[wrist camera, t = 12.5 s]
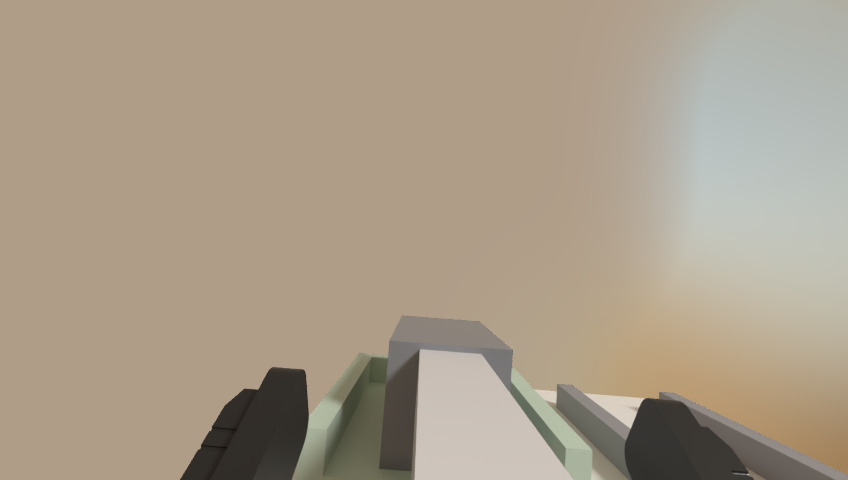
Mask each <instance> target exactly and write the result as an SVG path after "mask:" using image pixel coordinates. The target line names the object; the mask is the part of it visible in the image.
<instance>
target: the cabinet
mask: <svg viewBox="0 0 848 480" xmlns="http://www.w3.org/2000/svg"><path fill="white" fill-rule="evenodd" d="M387 366H388V355H376V354H364V353H359V355H358V356H357V357H356V358H355V360H354V361H353V362H352V364H351V365H350V366H349V367H348V368H347V370H346V371H345V372H344V373H343V375H342V376H341V377H340V378H339V380H338V381H337V382H336V384H335V385H334V386H333V387H332V388H331V390H330V391H329V392H328V394H327V395H326V396H325V397H324V399H323V400H322V401H321V402H320V403H319V405H318V406H317V407H316V409H315V410H314V411H313V412H312V414H311V415H310V416H309V421H308V429H307V435H306V439H305V442H304V446H303V448H302V451H301V454H300V457H299V460H298V463H297V466H296V469H295V472H294V475H293V477H292V480H411V474H412V471H400V470H388V469H379V463H380V451H381V438H382V426H383V414H384V402H385V390H386V378H387ZM510 394H511V395H512V396H513V398H514V399H515V400H516V402H517V403H518V405H519V406H520V407H521V409H522V410H523V411H524V413H525V414H526V416H527V417H528V418H529V420H530V421H531V422H532V424H533V425H534V426H535V428H536V429H537V431H538V432H539V433H540V435H541V436H542V437H543V439H544V440H545V442H546V443H547V444H548V446H549V447H550V448H551V450H552V451H553V452H554V454H555V455H556V457H557V458H558V459H559V461H560V462H561V463H562V465H563V466H564V468H565V469H566V470H567V472H568V473H569V474H570V476H571V477H572V478H573V480H632V479H631V477H630V474H629V472H628V469H627V466H626V462H625V454H624V449H625V442H626V439H627V437H628V434H629V432H630V429H631V427H632V424H633V422H634V419H635V417H636V414H637V412H638V409H639V407H640V404H641V402H642V401H643V400H644V399H646V398H634V397H620V396H607V395H595V394H583V393H582V392H581V391H579V390H578V389H577V388H575V387H574V386H573V385H564V384H557V391H544V390H534V389H533V388H532V387H531V386H530V385H529V384H528V383H527V381H526V380H525V379H524V378H523V377H522V376H521V375H520V374H519V373H518V372H517V371H516V370H515V369H514V368H513V367H512V372H511V389H510ZM659 399H664V400H677V401H681V402H683V403H684V404H685V405H686V406H687V407H688V408H689V410H690V411H691V413H692V414H693V416H694V417H695V418H696V420H697V421H698V423H699V424H700V426H701V427H708V428H709V429H710V430H712V431H713V432H714V433H715V434H716V435H717V436H718V437H720V438H721V439H722V440H723V441H724V442H725V443H726V444H727V445H729V446H730V447H731V448H732V450H733V451H734V452H735V454H736V455H737V456H738V458H739V459H740V461H741V462H742V463H743V465H744V466H745V467H746V469H747V470H748V474H749V476H751V477H753V479H754V480H848V475H846V474H844V473H842V472H840V471H837V470H836V469H833V468H831V467H829V466H827V465H825V464H823V463H821V462H819V461H817V460H814V459H812V458H810V457H808V456H806V455H804V454H802V453H800V452H798V451H796V450H793V449H791V448H789V447H787V446H785V445H783V444H781V443H779V442H777V441H774V440H772V439H770V438H768V437H766V436H764V435H762V434H760V433H757V432H755V431H753V430H751V429H749V428H747V427H745V426H743V425H741V424H739V423H736V422H734V421H732V420H730V419H728V418H726V417H724V416H722V415H720V414H718V413H715V412H713V411H711V410H709V409H707V408H705V407H703V406H700V405H699V404H696V403H694V402H692V401H690V400H688V399H686V398H684V397H682V396H680V395H677V394H675V393H666V392H660V393H659Z"/></svg>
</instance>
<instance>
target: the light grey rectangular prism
mask: <svg viewBox="0 0 848 480" xmlns="http://www.w3.org/2000/svg"><path fill="white" fill-rule="evenodd" d="M512 355H513V350H512V349H511V348H510V347H509V346H507V345H506V344H505V343H504V342H503V341H501V340H500V339H499V338H498V337H497V336H496V335H494V334H493V333H492V332H491V331H490V330H489V329H487V328H486V327H485V326H484V325H483V324H481V323H480V322H478V321H465V320H452V319H439V318H427V317H426V318H425V317H414V316H402V317H401V319H400V321H399V323H398V325H397V327H396V329H395V331H394V333H393V335H392V337H391V339H390V341H389V354H388V366H387V378H386V390H385V402H384V414H383V426H382V438H381V451H380V463H379V469H388V470H400V471H412V474H411V480H573V478H572V477H571V476H570V474H569V473H568V472H567V470H566V469H565V468H564V466H563V465H562V463H561V462H560V461H559V459H558V458H557V457H556V455H555V454H554V452H553V451H552V450H551V448H550V447H549V446H548V444H547V443H546V442H545V440H544V439H543V437H542V436H541V435H540V433H539V432H538V431H537V429H536V428H535V426H534V425H533V424H532V422H531V421H530V420H529V418H528V417H527V416H526V414H525V413H524V411H523V410H522V409H521V407H520V406H519V405H518V403H517V402H516V400H515V399H514V398H513V396H512V395H511V394H510V389H511V372H512Z"/></svg>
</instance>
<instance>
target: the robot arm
mask: <svg viewBox="0 0 848 480" xmlns="http://www.w3.org/2000/svg"><path fill="white" fill-rule="evenodd" d="M308 421H309V412H308V399H307V385H306V374H305V371H304V370H302V369H289V368H277V367H272V368H271V369H270V370H269V371H268V373H267V375H266V377H265V378H264V380H263V382H262V384H261V386H260V388H259V389H258V390H254V389H244V390H242V391H241V392H240V393H239V394H238V395H237V396H236V397H234V398H233V399H232V400H231V401H230V402H229V403H227V404H226V405H225V406H224V408H223V410H222V411H221V413H220V415H219V416H218V418H217V420H216V421H215V423H214V425H213V426H212V430H211V431H209V433H208V434H207V436H206V438H205V439H204V441H203V443H202V444H201V449H200V450H198V451H197V453H196V454H195V456H194V458H193V459H192V461H191V463H190V464H189V466H188V468H187V469H186V471H185V473H184V474H183V476H182V478H181V479H180V480H292V477H293V475H294V472H295V469H296V466H297V463H298V460H299V457H300V454H301V451H302V448H303V446H304V442H305V439H306V435H307V429H308ZM624 454H625V462H626V466H627V469H628V472H629V474H630V477H631V479H632V480H754V479H753V477H751V476H749V474H748V470H747V469H746V467H745V466H744V465H743V463H742V462H741V461H740V459H739V458H738V456H737V455H736V454H735V452H734V451H733V450H732V448H731V447H730V446H729V445H727V444H726V443H725V442H724V441H723V440H722V439H721V438H720V437H718V436H717V435H716V434H715V433H714V432H713V431H712V430H710V429H709V428H708V427H701V426H700V424H699V423H698V421H697V420H696V418H695V417H694V416H693V414H692V413H691V411H690V410H689V408H688V407H687V406H686V405H685V404H684V403H683V402H681V401H677V400H664V399H651V398H646V399H644V400H643V401H642V402H641V404H640V407H639V409H638V412H637V414H636V417H635V419H634V422H633V424H632V427H631V429H630V432H629V434H628V437H627V439H626V442H625V449H624Z"/></svg>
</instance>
